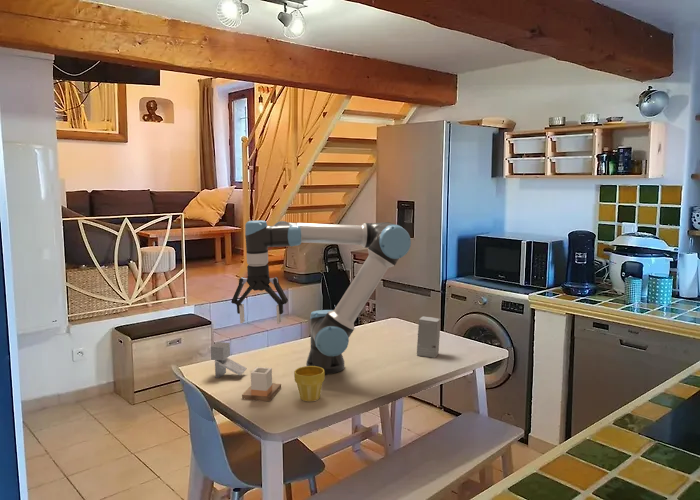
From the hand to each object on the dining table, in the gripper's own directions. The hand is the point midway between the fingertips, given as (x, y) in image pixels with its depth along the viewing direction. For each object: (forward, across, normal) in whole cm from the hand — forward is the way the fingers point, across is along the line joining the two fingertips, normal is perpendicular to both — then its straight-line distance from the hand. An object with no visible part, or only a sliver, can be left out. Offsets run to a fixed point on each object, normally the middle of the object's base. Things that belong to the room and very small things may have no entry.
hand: (260, 322), depth 200 cm
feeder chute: (+23, +15, -7) cm, 28 cm away
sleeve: (+22, -3, +11) cm, 25 cm away
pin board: (+23, -2, +8) cm, 25 cm away
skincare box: (+25, -60, -41) cm, 77 cm away
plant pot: (+24, -19, +10) cm, 32 cm away
